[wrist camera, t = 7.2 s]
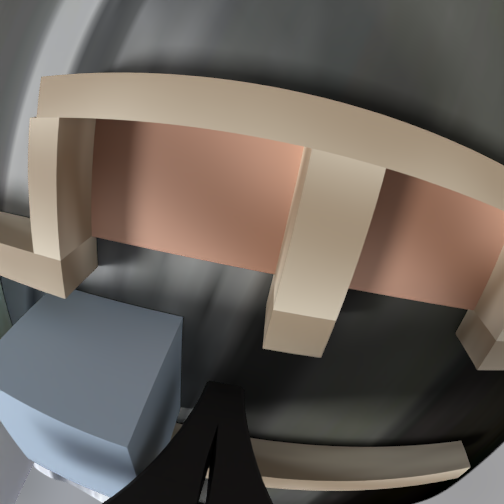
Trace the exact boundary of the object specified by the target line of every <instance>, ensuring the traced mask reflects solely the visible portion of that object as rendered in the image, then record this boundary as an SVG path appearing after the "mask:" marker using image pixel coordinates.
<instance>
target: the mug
mask: <svg viewBox="0 0 504 504" xmlns="http://www.w3.org/2000/svg"><path fill="white" fill-rule="evenodd" d="M33 464H34V462H33V461H32V460H30V459H28V458H27V457H26V456H25V454H24V453H23V452H22V450H21V449H20V448H19V446H18V445H17V444H16V442H15V441H14V440H13V438H12V437H11V435H10V434H9V433H8V431H7V430H6V428H5V427H4V425H3V424H2V422H1V421H0V504H15V502H16V499H17V497H18V495H19V493H20V490H21V488H22V486H23V484H24V482H25V480H26V478H27V476H28V474H29V472H30V470H31V468H32V466H33Z"/></svg>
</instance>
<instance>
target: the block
mask: <svg viewBox="0 0 504 504" xmlns="http://www.w3.org/2000/svg"><path fill="white" fill-rule="evenodd" d="M182 326H183V317H181V316H176V315H172V314H167V313H163V312H159V311H155V310H150V309H146V308H142V307H138V306H134V305H130V304H126V303H122V302H118V301H115V300H111V299H107V298H103V297H100V296H96V295H92V294H89V293H85V292H82V291H78V290H74V291H73V292H72V293H71V294H70V295H69V296H68V297H67V298H66V299H64V298H61V297H58V296H55V295H52V294H49V293H46V294H45V295H44V296H43V297H42V298H41V299H40V300H39V301H38V302H37V303H35V304H34V305H33V306H32V307H31V308H30V309H29V310H28V311H27V312H26V313H25V314H24V315H23V316H22V317H21V318H20V319H19V320H18V321H17V322H16V323H15V324H14V325H13V326H12V327H11V328H10V329H9V331H8V332H7V333H6V334H5V335H4V336H3V337H2V338H1V339H0V421H1V422H2V424H3V425H4V427H5V428H6V430H7V431H8V433H9V434H10V435H11V437H12V438H13V440H14V441H15V442H16V444H17V445H18V446H19V448H20V449H21V450H22V452H23V453H24V454H25V456H26V457H27V458H28V459H30V460H32V461H33V462H35V463H37V464H39V465H41V466H42V467H44V468H46V469H48V470H50V471H52V472H54V473H56V474H58V475H60V476H62V477H64V478H66V479H68V480H70V481H73V482H75V483H77V484H79V485H82V486H84V487H86V488H89V489H91V490H93V491H96V492H98V493H101V494H103V495H106V496H109V497H112V496H113V495H115V494H116V493H117V492H119V491H120V490H121V489H123V488H124V487H125V486H126V485H128V484H129V483H130V482H131V481H132V480H133V479H134V478H136V477H137V476H138V475H139V474H140V473H141V472H142V471H143V470H144V469H145V468H146V467H147V466H148V465H149V464H150V463H151V462H152V461H153V460H154V459H155V458H156V457H157V456H158V455H159V454H160V453H161V451H162V450H163V449H164V448H165V447H166V446H167V444H168V443H169V442H170V439H171V436H172V433H173V430H174V427H175V423H176V420H177V417H178V414H179V411H180V391H181V350H182Z"/></svg>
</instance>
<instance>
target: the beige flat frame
mask: <svg viewBox="0 0 504 504" xmlns="http://www.w3.org/2000/svg"><path fill="white" fill-rule="evenodd" d="M28 187H29V208H30V218H27V217H23V216H18V215H14V214H10V213H5V212H1V211H0V276H3V277H6V278H8V279H11V280H13V281H16V282H19V283H21V284H24V285H27V286H29V287H32V288H35V289H38V290H41V291H43V292H46V293H49V294H52V295H55V296H58V297H61V298H64V299H66V298H67V297H68V296H69V295H70V294H71V293H72V292H73V291H74V290H75V289H76V288H77V287H78V286H79V285H80V284H81V283H82V282H83V281H84V280H85V279H86V278H87V277H88V276H89V275H90V274H91V273H92V272H93V271H94V270H95V269H96V268H97V267H98V262H97V238H102V239H106V240H111V241H116V242H120V243H125V244H129V245H134V246H139V247H143V248H148V249H153V250H158V251H162V252H167V253H172V254H177V255H181V256H186V257H191V258H196V259H201V260H206V261H210V262H215V263H220V264H225V265H230V266H235V267H240V268H245V269H250V270H255V271H260V272H265V273H270V274H274V275H273V279H272V283H271V287H270V291H269V296H268V300H267V304H266V315H265V327H264V339H263V349H268V350H274V351H280V352H286V353H292V354H299V355H305V356H312V357H319V358H321V356H322V354H323V351H324V349H325V347H326V344H327V342H328V340H329V337H330V335H331V332H332V330H333V327H334V325H335V322H336V320H337V317H338V315H339V312H340V309H341V307H342V304H343V302H344V299H345V296H346V294H347V291H348V288H349V289H354V290H360V291H365V292H371V293H376V294H382V295H387V296H393V297H398V298H404V299H410V300H415V301H421V302H427V303H433V304H438V305H444V306H450V307H456V308H462V309H468V311H467V313H466V315H465V316H464V318H463V320H462V322H461V324H460V326H459V327H458V329H457V331H456V333H455V334H456V335H457V337H458V339H459V340H460V342H461V344H462V345H463V347H464V348H465V350H466V352H467V353H468V355H469V357H470V358H471V360H472V362H473V364H474V365H475V367H476V369H477V370H504V165H502V164H500V163H498V162H496V161H494V160H492V159H490V158H488V157H486V156H484V155H482V154H480V153H478V152H476V151H473V150H471V149H469V148H467V147H465V146H463V145H460V144H458V143H456V142H454V141H451V140H449V139H447V138H444V137H442V136H439V135H437V134H434V133H432V132H429V131H427V130H424V129H422V128H419V127H416V126H414V125H411V124H408V123H405V122H403V121H400V120H397V119H394V118H391V117H388V116H385V115H382V114H379V113H376V112H373V111H369V110H366V109H363V108H359V107H356V106H352V105H349V104H345V103H342V102H338V101H334V100H330V99H326V98H322V97H318V96H314V95H310V94H305V93H301V92H296V91H291V90H287V89H282V88H276V87H271V86H265V85H260V84H254V83H247V82H241V81H234V80H226V79H218V78H209V77H200V76H189V75H175V74H158V73H84V74H68V75H55V76H45V77H41V83H40V90H39V99H38V109H37V117H32V118H30V124H29V145H28ZM11 327H12V324H11V320H10V317H9V313H8V310H7V306H6V303H5V299H4V295H3V291H2V286H1V282H0V339H1V338H2V337H3V336H4V335H5V334H6V333H7V332H8V331H9V329H10V328H11ZM182 425H183V424H179V423H175V427H174V430H173V433H172V436H171V439H172V438H173V437H174V436H175V434H176V433H177V432H178V431H179V429H180V428H181V427H182ZM171 439H170V441H171ZM250 439H251V444H252V448H253V451H254V455H255V458H256V461H257V465H258V468H259V471H260V474H261V476H262V479H263V482H264V484H265V487H269V488H280V489H294V490H316V491H350V490H372V489H385V488H396V487H405V486H413V485H420V484H427V483H433V482H438V481H444V480H449V479H454V478H458V477H459V476H461V475H462V474H463V473H464V472H465V471H467V470H468V469H469V468H470V464H469V461H468V458H467V455H466V452H465V449H464V447H463V444H462V441H454V442H446V443H437V444H426V445H412V446H392V447H342V446H321V445H307V444H296V443H286V442H277V441H269V440H262V439H255V438H250ZM209 466H210V465H209ZM208 476H209V468H208V471H207V475H206V478H208Z"/></svg>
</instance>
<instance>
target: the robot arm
mask: <svg viewBox="0 0 504 504" xmlns="http://www.w3.org/2000/svg"><path fill="white" fill-rule="evenodd" d="M209 465H210V466H209ZM208 468H209V476H208V487H207V497H206V504H273V503H272V501H271V498H270V496H269V494H268V492H267V489H266V487H265V484H264V482H263V479H262V476H261V474H260V471H259V468H258V465H257V461H256V458H255V455H254V451H253V448H252V444H251V439H250V435H249V431H248V425H247V419H246V413H245V403H244V389H243V388H242V387H239V386H234V385H229V384H224V383H219V382H215V381H208V382H207V383H206V385H205V388H204V390H203V392H202V394H201V396H200V398H199V400H198V402H197V404H196V405H195V407H194V409H193V410H192V412H191V413H190V415H189V416H188V418H187V419H186V421H185V422H184V424H183V425H182V427H181V428H180V429H179V431H178V432H177V433H176V434H175V436H174V437H173V438H172V439H171V441H170V442H169V443H168V444H167V446H166V447H165V448H164V449H163V450H162V451H161V453H160V454H159V455H158V456H157V457H156V458H155V459H154V460H153V461H152V462H151V463H150V464H149V465H148V466H147V467H146V468H145V469H144V470H143V471H142V472H141V473H140V474H139V475H138V476H137V477H136V478H134V479H133V480H132V481H131V482H130V483H129V484H128V485H126V486H125V487H124V488H123V489H121V490H120V491H119V492H117V493H116V494H115V495H113V496H112V497H111V498H109V499H108V500H107V501H105V502H104V503H102V504H198V501H199V498H200V494H201V491H202V487H203V484H204V481H205V478H206V475H207V471H208Z"/></svg>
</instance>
